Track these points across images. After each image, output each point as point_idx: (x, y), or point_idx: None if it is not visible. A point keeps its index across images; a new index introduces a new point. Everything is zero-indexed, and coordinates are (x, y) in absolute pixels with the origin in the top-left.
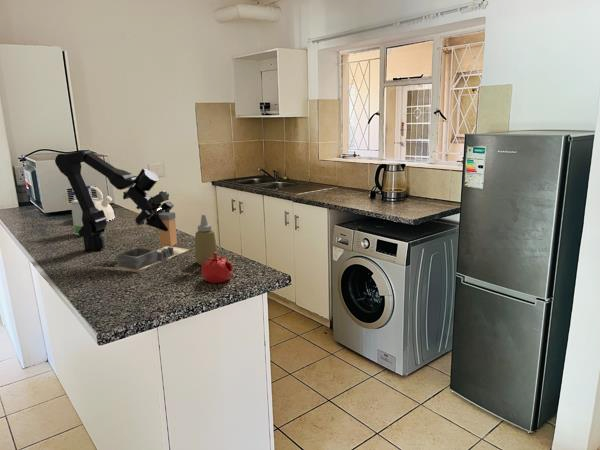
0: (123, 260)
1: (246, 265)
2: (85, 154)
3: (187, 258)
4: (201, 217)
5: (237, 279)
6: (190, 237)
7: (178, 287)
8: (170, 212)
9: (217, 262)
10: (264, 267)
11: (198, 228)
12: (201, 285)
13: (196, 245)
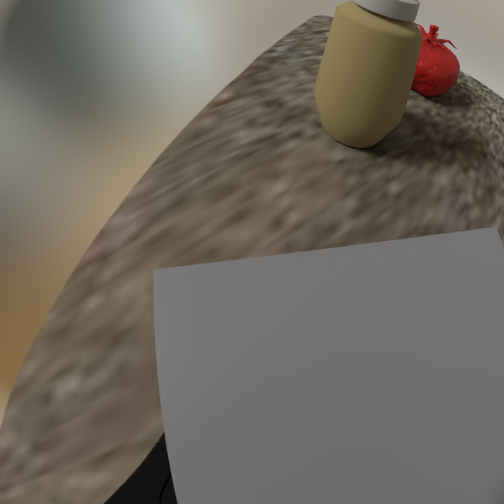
0: None
1: (296, 55)
2: None
3: (320, 236)
4: None
5: None
6: (6, 420)
7: (491, 134)
8: (185, 436)
9: (436, 38)
10: (290, 34)
11: (417, 10)
12: (454, 98)
13: (413, 77)
